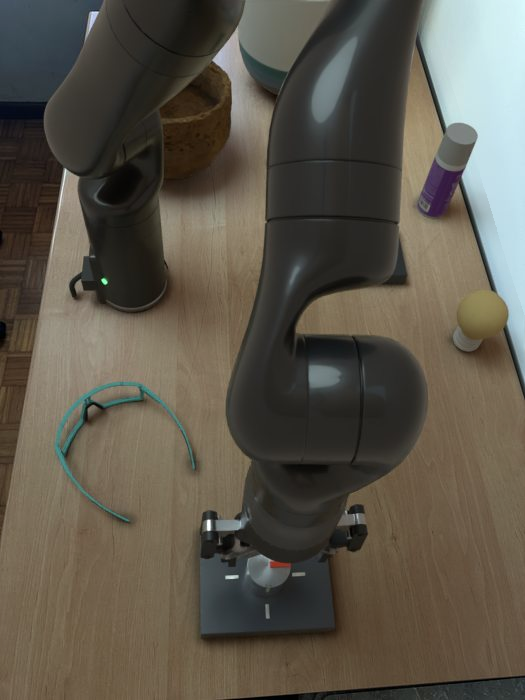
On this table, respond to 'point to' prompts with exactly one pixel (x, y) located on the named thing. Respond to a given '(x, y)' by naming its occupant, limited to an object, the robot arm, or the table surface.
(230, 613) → the panel
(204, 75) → the bowl
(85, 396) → the teal curved thin frame
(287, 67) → the planter
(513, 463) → the table surface
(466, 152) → the container
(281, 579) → the dial
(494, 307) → the light bulb
